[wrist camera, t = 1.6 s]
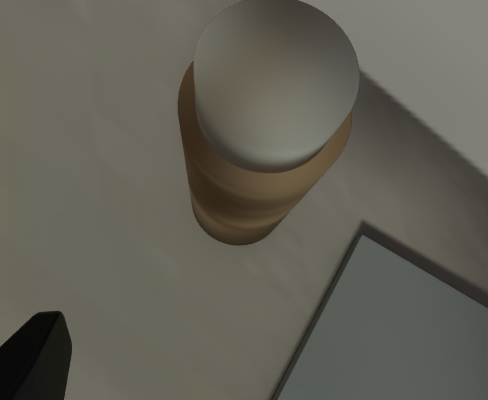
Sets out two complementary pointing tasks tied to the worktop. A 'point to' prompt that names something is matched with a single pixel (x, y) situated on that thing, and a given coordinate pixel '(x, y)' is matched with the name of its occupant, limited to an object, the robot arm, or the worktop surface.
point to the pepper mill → (263, 113)
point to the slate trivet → (390, 336)
